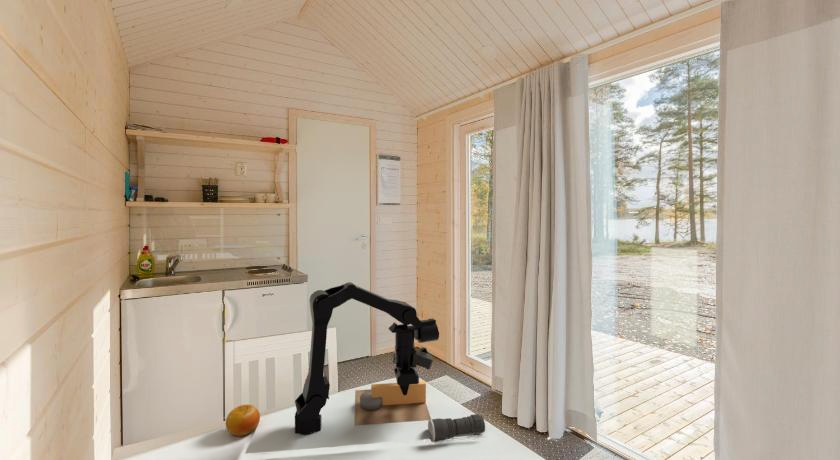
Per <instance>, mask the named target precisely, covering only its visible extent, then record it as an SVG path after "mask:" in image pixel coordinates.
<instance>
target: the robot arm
mask: <svg viewBox="0 0 840 460" xmlns="http://www.w3.org/2000/svg"><path fill="white" fill-rule="evenodd" d="M351 300H355V301H358V302H359V303H362V304H364V305H367V306H369V307H372V308H374V309H376V310H379V311H381V312H383V313H386V314H387V315H389V316H390V317H392V318H393V319H395V320H396V321H398V322H399V323H401V324H397V323H396V322H395V321H394V322H393V323H392V324H391V325H390V326H389V327H388V331H390V333H391V334H392V333H393V334H394V333H395V334H394V335H395V336H394V337H395V340H394V341H395V342H394V344H395V345H394V350H395V352H394V354H392V364H393V365H395V368H394V375H395V379H396V383H397V385H399V386H400V389H401V391H402V393H403V395H407V392H408V388H409V385H411V384H418V383H419V381H420V375H419V373H418V371H416V369H414V368H417V366H418V367H422V368H425V369H427V370H430V369H431V367H432V364H433V363H434V362H433V361H434V358H433V356H432V354H430V353H428V349H427V347H424V346H421V348H420V349H417V350H416V349H415V348H416V347H415V341H417V342H418V343H420V344H421V343H423V344H424V343H431V342H436V341H439V338H440V331H439V327H438V324H437V320H436V319H434V318H433V317H432V318H427V319H422V320H421V319H420V318H419V317H418V315H417V309H416V308H415V307H413V306H412V305H410V304H409V303H407V302H406V301H402V300H398V299H391V298H386V297H384V296H382V295H380V294H377V293H374V292H372V291H370V290H367V289H365V288H363V287H361V286H359V285H356V284H355V283H353V282H350V281H348V282H346V283H343V284H341V285H337V286H334V287H330V288H328V289H324V290H321V289H320V290H319V289H318V290H315V291H314V292H313V293H312V294H311V295H310V296H309V309H310V316H311V323H312V325H311V326H312V327H311V340H310V352H309V362H308V363H309V364H308V366H309V367H308V373H307V375H306V378H305V381H304V385H303V388H302V392H301V393H300V394H299V395H298V396H297V398H296V399H295V400H294V405H295V408H296V411H295V413H294V433H295V434H299V435H301V436H307V435H308V436H309V435H312V434H314V433H318V432H321V431H322V422H323V421H322V414H321V409H323V408H324V407H325V406H326V404H327V400H329V399H330V396H329V391H330V388H331V384H330V381H329V379H328V377H327V376H326V375H325V376H324V373H325V361H326V350H327V349H326V348H327V347H326V346H327V335H328V334H327V333H328V326H329V323H330V320H331V318H332V315H333V311H334V309H336V308H338V307H340V306H342V305H343V304H345V303H347V302H348V301H351Z"/></svg>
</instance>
